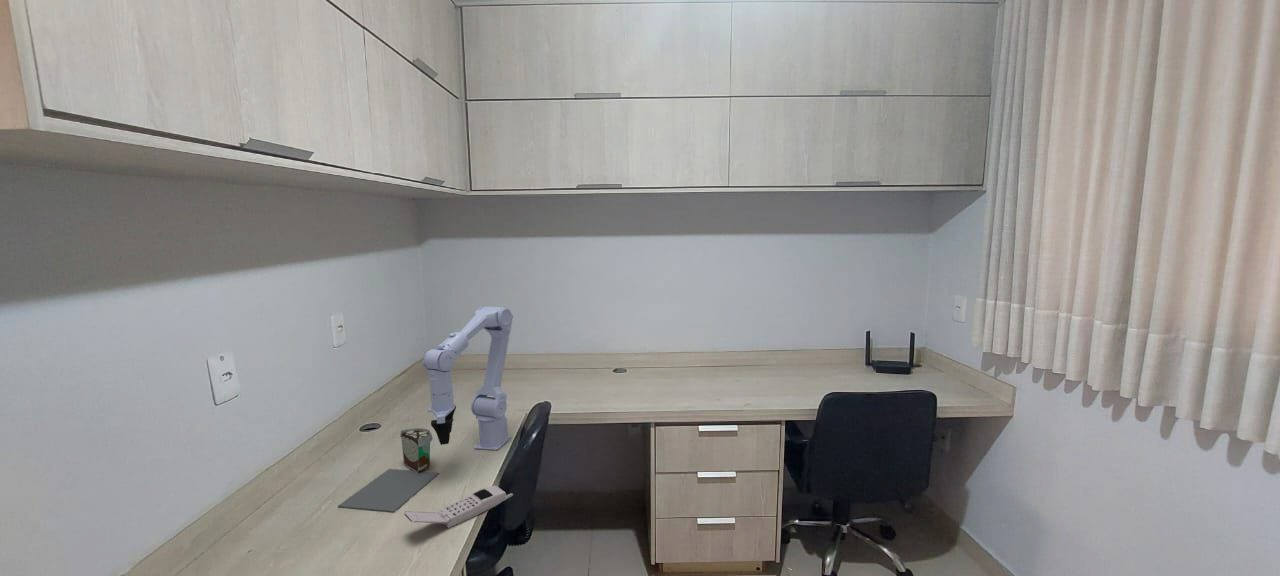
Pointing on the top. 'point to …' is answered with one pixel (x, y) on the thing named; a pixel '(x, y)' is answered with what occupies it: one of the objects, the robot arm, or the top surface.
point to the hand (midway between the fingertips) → (446, 437)
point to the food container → (416, 448)
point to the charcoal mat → (389, 490)
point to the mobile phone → (462, 508)
